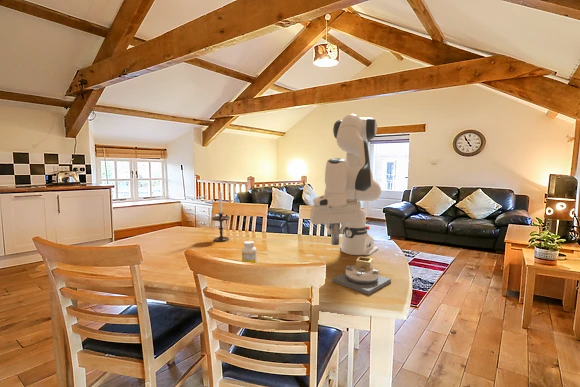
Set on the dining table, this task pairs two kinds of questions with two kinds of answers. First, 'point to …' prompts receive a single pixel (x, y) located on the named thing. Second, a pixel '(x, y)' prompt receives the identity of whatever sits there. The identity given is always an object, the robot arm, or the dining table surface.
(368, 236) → the robot arm
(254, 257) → the supplement bottle
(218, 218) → the candlestick
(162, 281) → the dining table surface
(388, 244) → the dining table surface
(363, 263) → the grey round chuck
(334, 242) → the steel pin
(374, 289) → the base
